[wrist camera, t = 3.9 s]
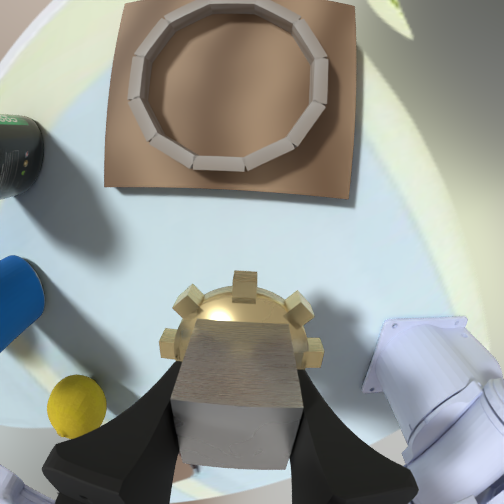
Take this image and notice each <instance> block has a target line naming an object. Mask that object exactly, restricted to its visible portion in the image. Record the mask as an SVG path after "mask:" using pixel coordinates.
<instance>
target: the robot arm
mask: <svg viewBox="0 0 504 504" xmlns="http://www.w3.org/2000/svg"><path fill="white" fill-rule="evenodd" d="M467 321H468V319H467V318H466V317H465V316H455V317H435V318H404V319H387V320H385V322H384V323H383V326H382V329H381V332H380V336H379V339H378V342H377V345H376V348H375V352H374V355H373V358H372V361H371V363H370V366H369V369H368V372H367V375H366V378H365V380H364V383H363V386H362V392H363V393H376V392H384V393H385V395H386V398H387V400H388V402H389V404H390V406H391V408H392V411H393V413H394V415H395V417H396V419H397V422H398V424H399V426H400V428H401V431H402V433H403V435H404V437H405V440H406V442H407V444H408V447H407V448H406V449H405V450H404V451H403V452H402V456H403V458H404V461H405V463H406V464H405V465H404V466H402V465H400V464H397V463H395V462H393V461H391V460H390V459H388V458H386V457H385V456H383V455H381V454H380V453H378V452H377V451H375V450H374V449H373V448H371V447H370V446H369V445H367V444H366V443H365V442H363V441H362V440H361V439H360V438H358V437H357V436H356V435H355V434H354V433H353V432H352V431H351V430H350V429H349V428H348V427H347V426H346V425H345V424H344V423H343V422H342V421H341V420H340V419H339V418H338V417H337V415H336V414H335V413H334V412H333V411H332V409H331V408H330V407H329V406H328V404H327V403H326V402H325V400H324V399H323V398H322V396H321V395H320V393H319V392H318V390H317V389H316V387H315V386H314V384H313V383H312V381H311V379H310V378H309V376H308V374H307V372H306V371H305V370H304V369H297V372H298V378H299V384H300V389H301V395H302V401H303V407H304V408H303V412H302V415H301V419H300V423H299V426H298V430H297V433H296V437H295V440H294V444H293V447H292V450H291V453H290V457H289V458H290V464H291V476H292V504H504V379H503V376H502V371H501V368H500V365H499V363H498V362H497V360H496V359H495V358H494V356H493V355H492V354H491V353H490V352H489V351H488V350H487V349H486V348H485V347H484V346H483V345H482V344H481V343H480V342H479V341H478V340H477V339H476V338H475V337H474V336H473V335H472V334H471V333H470V332H469V331H468V330H467V329H466V328H465V327H466V324H467ZM395 323H396V324H395ZM393 324H395V326H393ZM181 365H182V361H176V362H174V363H173V365H172V366H171V367H170V368H169V369H168V371H167V372H166V373H165V374H164V375H163V376H162V377H161V379H160V380H159V381H158V382H157V383H156V384H155V385H154V386H153V387H152V388H151V389H150V390H149V391H148V392H147V393H146V394H145V395H144V396H142V397H141V398H140V399H139V400H138V401H137V402H136V403H135V404H133V405H132V406H131V407H130V408H128V409H127V410H126V411H124V412H123V413H122V414H120V415H119V416H117V417H116V418H114V419H113V420H111V421H109V422H108V423H106V424H104V425H103V426H101V427H99V428H97V429H95V430H93V431H91V432H88V433H86V434H84V435H82V436H79V437H77V438H74V439H71V440H68V441H64V442H61V443H58V444H56V445H55V446H54V448H53V449H52V451H51V452H50V454H49V456H48V458H47V460H46V461H45V463H44V465H43V467H42V471H43V474H44V475H45V477H46V478H47V479H48V480H49V482H50V483H51V484H52V485H53V486H54V487H55V488H56V489H57V490H58V491H59V492H60V493H59V495H58V497H57V499H56V501H55V500H53V499H51V498H49V497H47V496H45V495H43V494H41V493H40V492H38V491H36V490H34V489H32V488H30V487H29V486H27V485H25V484H24V482H23V481H22V480H21V479H20V478H19V477H18V476H17V475H16V474H14V473H13V472H12V471H10V470H8V469H7V468H5V467H4V466H2V465H1V464H0V504H169V502H170V495H171V488H172V482H173V475H174V470H175V465H176V460H177V456H178V453H179V450H180V448H179V443H178V438H177V433H176V428H175V423H174V417H173V412H172V406H171V400H170V398H171V395H172V392H173V389H174V386H175V383H176V380H177V377H178V374H179V371H180V368H181ZM371 388H372V389H371Z"/></svg>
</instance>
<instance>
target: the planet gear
mask: <svg viewBox="0 0 504 504" xmlns="http://www.w3.org/2000/svg"><path fill="white" fill-rule="evenodd" d="M172 308H173V309H174V310H175V311H176V312H177V313H178V314H179V315H180V316H181V317H182V320H181V323H180V325H179V327H178V330H177V329H168V328H165V330H164V332H163V334H162V336H161V338H160V340H159V346H160V354H161V358H167V359H175V360H176V361H182V365H181V368H180V371H179V374H178V377H177V380H176V383H175V386H174V389H173V392H172V395H171V398H170V400H171V406H172V412H173V417H174V423H175V428H176V433H177V438H178V443H179V448H180V452H181V457H182V461H183V463H187V464H194V465H202V466H211V467H222V468H235V469H259V470H285V469H286V466H287V463H288V460H289V457H290V453H291V450H292V447H293V444H294V440H295V437H296V433H297V430H298V426H299V423H300V419H301V415H302V412H303V408H304V407H303V401H302V395H301V389H300V384H299V378H298V372H297V369H304V370H305V368H321V364H322V360H323V355H324V349H323V346H322V343H321V340H320V338H307V336H306V332H305V328H304V325H305V324H306V323H307V322H309V321H310V320H311V319H313V318H314V317H315V316H314V313H313V311H312V308H311V305H310V303H309V302H308V301H307V300H306V299H305V298H304V297H303V296H302V295H301V294H300V292H299V291H298V290H297V291H296V292H294V293H293V294H292V295H291V296H289V297H288V298H287V299H285V300H284V299H283V298H282V297H280V296H278V295H277V294H275V293H273V292H270V291H268V290H265V289H262V288H258V287H257V272H251V271H234V277H233V286H227V287H223V288H219V289H216V290H213V291H210V292H208V293H206V294H205V295H204V294H203V293H202V292H201V291H200V290H199V289H198V288H197V287H196V286H195V285H194V284H192V285H191V286H189V287H188V288H187V289H186V290H185V291H184V292H183V293H181V294H180V295H179V296H178V298H177V300H176V302H175V304H174V306H173V307H172Z"/></svg>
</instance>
